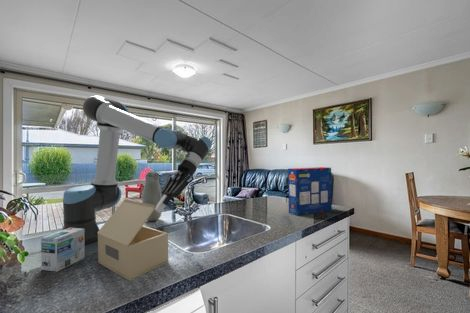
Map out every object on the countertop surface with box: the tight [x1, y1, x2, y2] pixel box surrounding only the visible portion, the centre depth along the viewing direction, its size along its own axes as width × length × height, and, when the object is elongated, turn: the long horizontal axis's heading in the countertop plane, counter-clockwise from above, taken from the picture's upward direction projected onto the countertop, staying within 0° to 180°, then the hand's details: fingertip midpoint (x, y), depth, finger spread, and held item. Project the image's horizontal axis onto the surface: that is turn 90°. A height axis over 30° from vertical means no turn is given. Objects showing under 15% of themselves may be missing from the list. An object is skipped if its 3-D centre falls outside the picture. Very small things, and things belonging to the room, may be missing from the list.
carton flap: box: [97, 199, 157, 246], centre depth 76 cm, size 19×14×1 cm
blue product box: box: [287, 166, 333, 217], centre depth 144 cm, size 28×8×28 cm, turn 114°
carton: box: [97, 225, 169, 281], centre depth 78 cm, size 20×14×10 cm
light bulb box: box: [40, 228, 86, 273], centre depth 77 cm, size 11×7×11 cm, turn 168°
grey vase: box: [141, 171, 163, 222], centre depth 128 cm, size 10×10×28 cm
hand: (157, 211), depth 84 cm, fingers closed
